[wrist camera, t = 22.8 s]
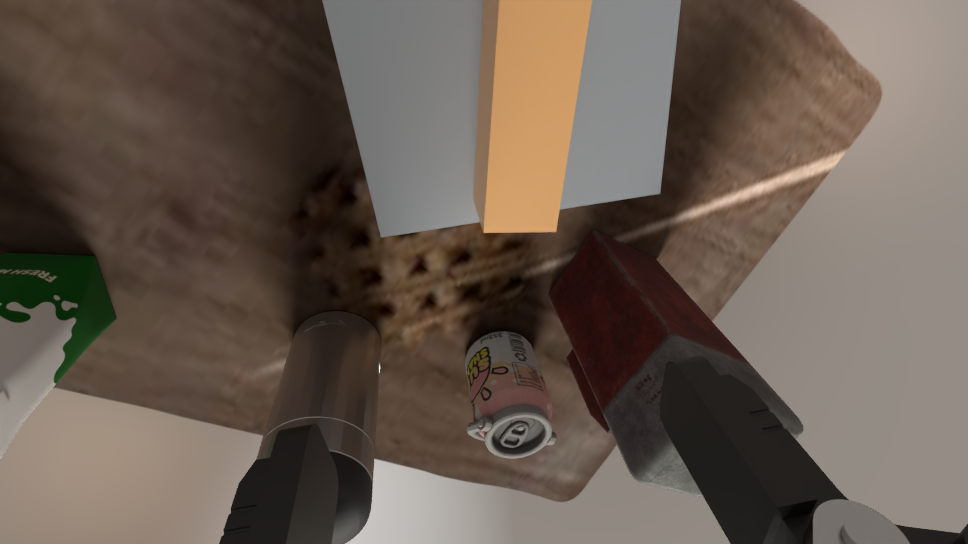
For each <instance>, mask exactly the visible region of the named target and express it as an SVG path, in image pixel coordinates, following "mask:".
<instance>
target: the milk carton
mask: <svg viewBox="0 0 968 544" xmlns="http://www.w3.org/2000/svg"><path fill="white" fill-rule="evenodd" d="M115 320H116V316H115V313H114V310H113V307H112V304H111V301H110V298H109V295H108V292H107V289H106V286H105V283H104V280H103V277H102V274H101V271H100V268H99V265H98V262H97V259H96V256H85V255H57V254H29V253H4V254H3V255H2V256H1V257H0V460H1V458H2V456H3V455H4V453H5V451H6V450H7V448H8V446H9V445H10V443H11V441H12V440H13V438H14V436H15V435H16V433H17V431H18V430H19V428H20V427H21V425H22V424H23V422H24V421H25V419H26V418H27V417H28V416H29V415H30V414H31V412H32V411H33V410H34V408H36V406H37V405H38V404H39V403H40V402H41V401H42V400H43V398H44V397H45V396H46V395H47V394H48V393H49V391H50V390H51V389H52V388H53V387H54V386H55V384H56V383H57V382H58V381H59V380H60V379H61V377H62V376H63V375H64V374H65V373H66V372H67V370H68V369H69V368H70V367H71V366H72V365H73V364H74V362H75V361H76V360H77V359H78V358H79V357H80V355H81V354H82V353H83V352H84V351H85V350H86V348H87V347H88V346H89V345H90V344H91V343H92V342H93V341H94V340H95V339H96V338H97V337H98V336H99V335H100V334H101V333H102V332H103V331H104V330H106V329H107V328H108V327H109V326H110V325H111V324H112V323H113V322H114V321H115Z"/></svg>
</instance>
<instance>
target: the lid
mask: <svg viewBox="0 0 968 544" xmlns="http://www.w3.org/2000/svg"><path fill="white" fill-rule="evenodd" d="M322 1H323V5H324V9H325V13H326V18H327V22H328V26H329V30H330V34H331V38H332V42H333V46H334V50H335V54H336V58H337V62H338V66H339V70H340V74H341V78H342V82H343V86H344V90H345V94H346V98H347V102H348V106H349V110H350V114H351V118H352V122H353V126H354V130H355V134H356V138H357V142H358V146H359V151H360V155H361V159H362V163H363V167H364V171H365V175H366V179H367V183H368V187H369V191H370V195H371V199H372V203H373V207H374V211H375V215H376V219H377V223H378V227H379V231H380V235H381V237H388V236H394V235H400V234H407V233H413V232H420V231H426V230H432V229H439V228H445V227H451V226H458V225H464V224H471V223H477V222H480V220H479V217H478V214H477V211H476V207H475V204H474V201H473V192H474V173H475V154H476V136H477V117H478V98H479V79H480V60H481V41H482V22H483V3H484V0H322ZM680 5H681V0H592V5H591V12H590V18H589V25H588V31H587V37H586V44H585V50H584V56H583V63H582V69H581V76H580V82H579V88H578V95H577V101H576V108H575V114H574V120H573V127H572V133H571V139H570V146H569V152H568V159H567V165H566V171H565V178H564V184H563V191H562V197H561V203H560V209H566V208H572V207H579V206H585V205H592V204H598V203H604V202H611V201H617V200H623V199H630V198H636V197H643V196H649V195H655V194H660V191H661V181H662V172H663V163H664V153H665V144H666V135H667V126H668V116H669V107H670V98H671V89H672V79H673V70H674V61H675V51H676V42H677V33H678V24H679V14H680Z"/></svg>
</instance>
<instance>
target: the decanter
mask: <svg viewBox="0 0 968 544" xmlns="http://www.w3.org/2000/svg"><path fill="white" fill-rule="evenodd" d="M549 297H550V299H551V301H552V304H553V306H554V308H555V310H556V312H557V314H558V317H559V319H560V321H561V323H562V325H563V328H564V330H565V332H566V334H567V336H568V339H569V341H570V343H571V345H572V347H573V350H572V351H571V352H570V354H569V355H568V356H567V358H566V359H567V361H568V363H569V366H570V368H571V370H572V373H573V375H574V377H575V380H576V382H577V384H578V387H579V389H580V391H581V394H582V396H583V398H584V401H585V403H586V405H587V408H588V410H589V412H590V415H591V416H592V417H593V418H594V419H595V420H596V421H597V422H598V423H599V424H600V425H601V426H602V428H603V429H604V430H605V431H606V432H607V433H609V434H612V435H613V437H614V439H615V441H616V444H617V446H618V448H619V450H620V452H621V454H622V457H623V459H624V461H625V463H626V465H627V467H628V470H629V472H630V474H631V475H632V476H633V478H634V479H635V480H637V481H638V482H640V483H644V484H648V485H652V486H656V487H660V488H665V489H668V490H673V491H677V492H681V493H685V494H690V495H694V496H698V497H702V498H704V497H703V495H702V493H701V491H700V490H699V488H698V486H697V485H696V483H695V481H694V479H693V478H692V476H691V474H690V472H689V471H688V469H687V467H686V465H685V464H684V462H683V460H682V459H681V457H680V455H679V453H678V452H677V450H676V448H675V446H674V445H673V443H672V441H671V440H670V438H669V436H668V434H667V432H666V431H665V428H664V426H663V423H662V420H661V415H660V399H661V392H662V385H663V379H664V372H665V366H666V363H667V362H668V361H671V360H677V359H682V358H688V357H693V356H699V355H700V356H703V357H705V358H706V359H707V360H708V361H709V363H710V364H711V365H712V366H713V368H714V369H715V370H716V371H717V373H718V374H719V375H720V376H722V375H727V374H731V375H732V376H734V377H735V378H737V379H738V380H740V381H741V382H743V383H744V384H746V385H747V386H749V387H750V388H752V389H753V390H754V391H755V392H756V393H757V395H758V396H759V397H760V398H761V399H762V400H763V402H764V403H765V404H766V405H767V406H768V408H769V411H770V412H771V413H772V412H773V413H774V415H775V416H776V417H777V418H778V419H779V420H780V422H781V423H782V424H783V427H784V429H787V430H788V431H789V432H790V433H791V435H792V436H793V437H794V438H795V439H796V438H797V437H798V436H799V435H800V434H801V433H802V432H803V425H802V423H801V421H800V420H799V418H798V417H797V416H796V415H795V414H794V413H793V412H792V410H791V409H790V408H789V407H788V406H787V405H786V404H785V403H784V401H783V400H781V398H780V397H779V396H778V395H777V394H776V392H775V391H774V390H773V389H772V388H771V387H770V386H769V385H768V384H767V382H766V381H765V380H764V379H763V378H762V377H761V376H760V375H759V374H758V372H756V370H755V369H754V368H753V367H752V366H751V365H750V364H749V363H748V361H747V360H746V359H745V358H744V357H743V356H742V355H741V354H740V352H739V351H738V350H737V349H736V348H735V347H734V346H733V345H732V343H731V342H730V341H729V340H728V339H727V338H726V337H725V336H724V335H723V334H722V332H721V331H720V330H719V329H718V328H717V327H716V326H715V325H714V323H713V322H712V321H711V320H710V319H709V318H708V317H707V316H706V315H705V313H704V312H703V311H702V310H701V309H700V308H699V307H698V306H697V304H696V303H695V302H694V301H693V300H692V299H691V298H690V297H689V296H688V294H687V293H686V292H685V291H684V290H683V289H682V288H681V287H680V286H679V284H678V283H677V282H676V281H675V280H674V279H673V278H672V277H671V276H670V274H669V273H668V272H667V271H666V270H665V269H664V268H663V267H662V266H661V264H660V263H659V262H658V261H657V260H656V259H655V258H653V257H651V256H649V255H647V254H645V253H643V252H640V251H638V250H636V249H634V248H632V247H630V246H628V245H626V244H623V243H621V242H619V241H617V240H615V239H613V238H611V237H609V236H606V235H604V234H602V233H600V232H598V231H596V230H593V231H592V232H591V233H590V235H589V236H588V238H587V239H586V240H585V242H584V243H583V245H582V246H581V248H580V249H579V251H578V252H577V253H576V255H575V256H574V258H573V259H572V261H571V262H570V264H569V265H568V267H567V268H566V269H565V271H564V272H563V274H562V275H561V277H560V278H559V280H558V281H557V282H556V284H555V285H554V287H553V288H552V290H551V291H550V293H549Z"/></svg>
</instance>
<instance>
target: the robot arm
mask: <svg viewBox="0 0 968 544" xmlns="http://www.w3.org/2000/svg"><path fill="white" fill-rule="evenodd" d="M380 358H381V339H380V336H379V334H378V332H377V330H376V329H375V327H374V326H373V325H372V324H371V323H370V322H368V321H367V320H365V319H364V318H362V317H360V316H358V315H356V314H352V313H348V312H342V311H329V312H323V313H319V314H316V315H314V316H312V317H310V318H308V319H307V320H305V321H304V322H303V323H302V324H301V325H300V326H299V327H298V329H297V331H296V333H295V335H294V338H293V341H292V344H291V348H290V351H289V354H288V357H287V360H286V363H285V367H284V370H283V373H282V376H281V380H280V383H279V386H278V390H277V393H276V396H275V399H274V403H273V406H272V409H271V413H270V416H269V419H268V422H267V426H266V429H265V432H264V435H263V439H262V442H261V446H260V449H259V452H258V456H257V459H256V461H255V462H254V463H253V465H252V466H251V468H250V469H249V470H248V472H247V473H246V475H245V476H244V477H243V479H242V480H241V481H240V483H239V485H238V488H237V491H236V494H235V498H234V500H233V504H232V507H231V514H229V516H228V519H227V522H226V525H225V528H224V536H222V537H221V540H220V543H219V544H345V543H347V542H348V541H350V540H351V539H353V538H354V537H355V536H356V535H357V534H358V533H359V532H360V531H361V530H362V529H363V527H364V526H365V524H366V522H367V520H368V517H369V514H370V510H371V502H372V484H373V468H374V450H375V435H376V419H377V403H378V387H379V373H380ZM660 415H661V420H662V423H663V426H664V428H665V431H666V432H667V434H668V436H669V438H670V440H671V441H672V443H673V445H674V446H675V448H676V450H677V452H678V453H679V455H680V457H681V459H682V460H683V462H684V464H685V465H686V467H687V469H688V471H689V472H690V474H691V476H692V478H693V479H694V481H695V483H696V485H697V486H698V488H699V490H700V491H701V493H702V495H703V497H704V498H705V500H706V502H707V504H708V505H709V507H710V509H711V510H712V512H713V514H714V515H715V517H716V519H717V521H718V523H719V524H720V526H721V528H722V530H723V531H724V533H725V535H726V536H727V538H728V540H729V542H730V543H731V544H968V524H967V525H966V527H965V528H964V529H963V530H962V532H961V533H952V532H944V531H936V530H928V529H920V528H912V527H905V526H900V525H895V524H893V523H892V522H891V521H890V520H889V519H887V518H886V517H885V516H883V515H882V514H880V513H879V512H877V511H876V510H874V509H872V508H869V507H868V506H865V505H863V504H860V503H857V502H854V501H849V500H848V499H847V498H846V497H845V496H844V495H843V494H842V493H841V492H840V491H839V490H838V489H837V488H836V486H835V485H834V484H833V483H832V482H831V481H830V479H829V478H828V477H827V476H826V475H825V474H824V472H823V471H822V470H821V469H820V468H819V466H818V465H817V464H816V463H815V462H814V460H813V459H812V458H811V457H810V456H809V455H808V453H807V452H806V451H805V450H804V449H803V448H802V446H801V445H800V444H799V443H798V442H797V440H796V439H795V438H794V437H793V436H792V435H791V433H790V432H789V431H788V430H787V429H784V427H783V424H782V423H781V422H780V420H779V419H778V418H777V417H776V416H775V415H774V413H773V412H772V413H771V412H770V411H769V408H768V406H767V405H766V404H765V403H764V402H763V400H762V399H761V398H760V397H759V396H758V395H757V393H756V392H755V391H754V390H753V389H752V388H750V387H749V386H747V385H746V384H744V383H743V382H741V381H740V380H738V379H737V378H735V377H734V376H732V375H731V374H727V375H722V376H720V375H719V374H718V373H717V371H716V370H715V369H714V368H713V366H712V365H711V364H710V363H709V361H708V360H707V359H706V358H705V357H703V356H700V355H699V356H693V357H688V358H682V359H677V360H671V361H668V362H667V363H666V366H665V372H664V379H663V385H662V392H661V399H660Z"/></svg>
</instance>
